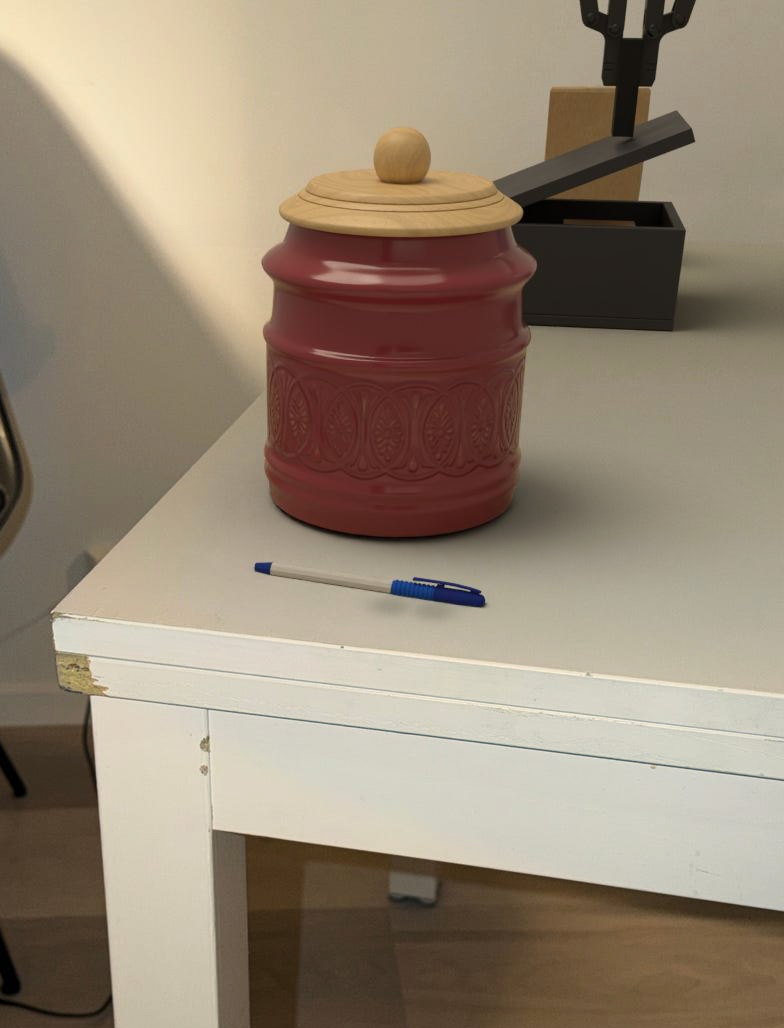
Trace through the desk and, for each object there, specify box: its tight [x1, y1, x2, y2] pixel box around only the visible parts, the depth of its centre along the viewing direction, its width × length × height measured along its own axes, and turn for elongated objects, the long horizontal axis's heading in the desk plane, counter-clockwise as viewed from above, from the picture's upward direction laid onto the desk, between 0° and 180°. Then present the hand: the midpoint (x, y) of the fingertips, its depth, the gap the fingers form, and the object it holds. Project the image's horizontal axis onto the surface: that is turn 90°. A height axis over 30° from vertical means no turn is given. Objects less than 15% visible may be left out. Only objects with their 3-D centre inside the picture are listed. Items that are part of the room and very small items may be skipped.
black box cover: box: [491, 109, 696, 208], centre depth 99 cm, size 15×13×1 cm
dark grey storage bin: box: [511, 198, 687, 332], centre depth 102 cm, size 15×13×7 cm
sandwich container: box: [543, 85, 652, 201], centre depth 121 cm, size 9×15×15 cm, turn 170°
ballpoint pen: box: [253, 561, 486, 608], centre depth 57 cm, size 10×1×1 cm, turn 71°
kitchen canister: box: [260, 126, 537, 538], centre depth 63 cm, size 13×13×18 cm
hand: (621, 134), depth 97 cm, fingers closed
